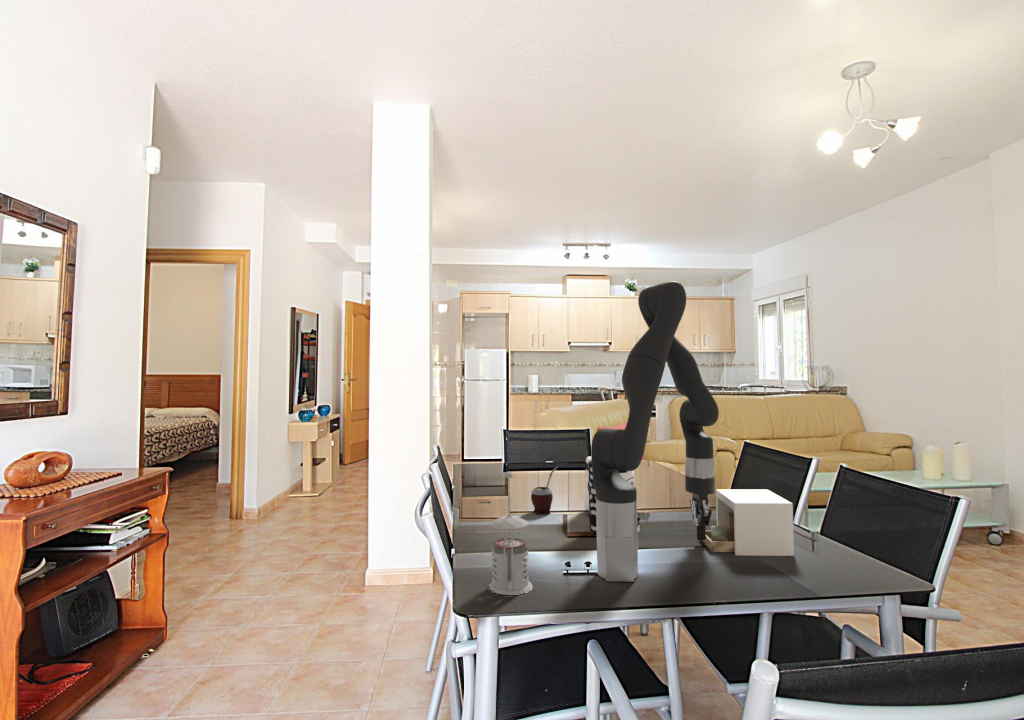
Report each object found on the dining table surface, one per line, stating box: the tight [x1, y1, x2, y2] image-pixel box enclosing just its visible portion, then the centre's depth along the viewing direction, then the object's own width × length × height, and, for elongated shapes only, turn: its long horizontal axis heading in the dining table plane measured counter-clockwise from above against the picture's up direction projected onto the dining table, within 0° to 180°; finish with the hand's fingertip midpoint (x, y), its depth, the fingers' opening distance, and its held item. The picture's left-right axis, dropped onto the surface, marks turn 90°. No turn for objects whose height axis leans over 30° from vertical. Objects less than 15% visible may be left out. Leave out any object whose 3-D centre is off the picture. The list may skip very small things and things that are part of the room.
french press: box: [488, 471, 534, 596], centre depth 118 cm, size 10×12×25 cm
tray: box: [701, 513, 735, 553], centre depth 144 cm, size 16×10×8 cm, turn 86°
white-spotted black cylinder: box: [588, 461, 597, 534], centre depth 159 cm, size 8×8×20 cm
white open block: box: [715, 488, 795, 557], centre depth 144 cm, size 16×14×13 cm
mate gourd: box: [530, 466, 559, 516], centre depth 181 cm, size 8×8×15 cm
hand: (700, 539), depth 145 cm, fingers closed
